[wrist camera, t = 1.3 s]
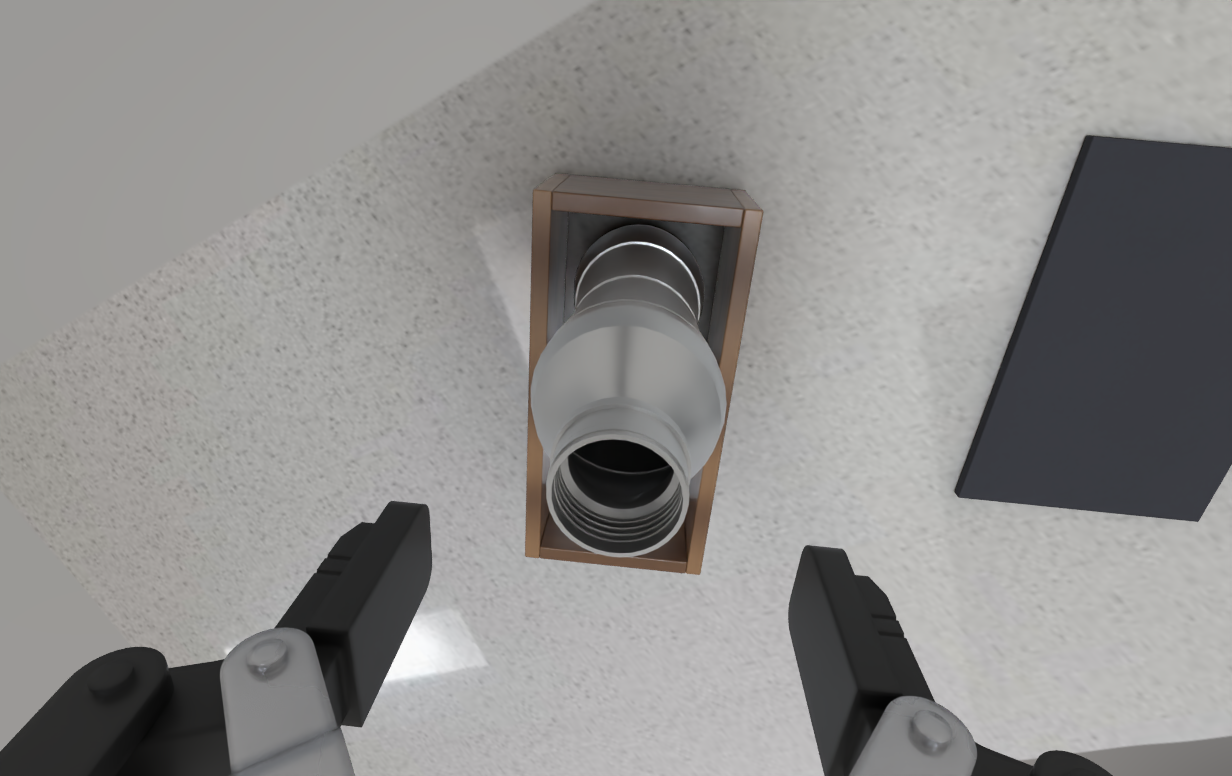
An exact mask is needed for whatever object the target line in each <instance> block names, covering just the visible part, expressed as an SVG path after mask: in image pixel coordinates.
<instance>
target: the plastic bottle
mask: <svg viewBox="0 0 1232 776" xmlns="http://www.w3.org/2000/svg"><path fill="white" fill-rule="evenodd" d="M703 302H704V283H703V277H702V274H701V270H700V267H699V265H698V263H697V261H696V260H695V258H694V256H693V254H692V253H691V252H690V251H689V249H688V248H687V247H686V246H685V245H684V244H683V243H682V242H681V241H679V240H678V239H677V238H676V237H675V236H673V235H672V234H670V233H668V232H666V231H664V230H662V229H660V228H657V227H653V226H650V225H639V224H636V225H628V226H624V227H621V228H618V229H615V230H612V231H610V232H608V233H607V234H605V235H603V236H602V237H600V238H599V239H598V240H597V241H596V242H594V243H593V244H592V245H591V246H590V247H589V249H588V250H587V251H586V253H585V254H584V256H583V257H582V259H581V261H580V264H579V266H578V268H577V272H576V277H575V281H574V305H575V311H574V313H573V315H572V316H571V317H570V318H569V319H568V320H567V321H566V322H565V323H564V324H563V325H562V326H561V327H560V328H559V329H558V330H557V332H556V333H555V334H554V336H553V337H552V338H551V340H550V341H549V343H548V344H547V346H546V347H545V349H544V350H543V352H542V353H541V355H540V358H539V360H538V362H537V365H536V367H535V369H534V373H533V378H532V384H531V408H532V413H533V418H534V423H535V427H536V431H537V435H538V438H539V440H540V442H541V444H542V447H543V449H544V451H545V452H546V454H547V455H548V456H549V458H550V468H549V472H548V476H547V481H546V499H547V503H548V507H549V511H550V513H551V515H552V517H553V519H554V521H555V523H556V524H557V526H558V527H559V528H560V530H561V531H562V532H563V533H564V534H565V535H566V536H567V537H568V538H569V539H570V540H572V541H573V542H575V543H576V544H578V545H579V546H581V547H582V548H585V549H587V550H589V551H591V552H594V553H597V554H601V555H605V556H611V557H634V556H638V555H642V554H646V553H649V552H651V551H653V550H655V549H658V548H659V547H661V546H662V545H664V544H665V543H667V542H668V541H669V540H670V539H671V538H672V537H673V536H674V535H675V534H676V533H677V532H678V530H679V528H680V527H681V525H682V524H683V522H684V519H685V516H686V513H687V509H688V505H689V496H690V493H689V484H690V480H691V478H693V477H694V476H695V475H696V474H697V473H698V472H699V470H700V469H701V468H702V467H703V466H704V465H705V464H706V462H707V460H708V459H709V457H710V456H711V454H712V452H713V451H714V448H715V446H716V444H717V441H718V439H719V436H720V433H721V430H722V428H723V425H724V421H725V414H726V406H727V403H726V391H725V384H724V381H723V378H722V375H721V371H720V368H719V366H718V363H717V360H716V358H715V356H714V354H713V352H712V351H711V349H710V347H709V345H708V343H707V342H706V341H705V339H704V337H703V336H702V334H701V332H700V331H699V328H698V323H699V320H700V317H701V313H702V309H703Z"/></svg>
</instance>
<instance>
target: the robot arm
mask: <svg viewBox="0 0 1232 776" xmlns="http://www.w3.org/2000/svg"><path fill="white" fill-rule="evenodd" d="M431 570H432V550H431V533H430V515H429V508H428V506H427V505H426V504H417V503H407V502H397V501H391V502H389V503H388V504H387V506H386V507H385V509H384V510H383V512H382V513H381V515H380V516H379V518H378V519H377V521H376V522H375V523H365V522H361V523H360V524H359V525H357V526H356V527H354V528H353V529H351V530H350V531H348V532H347V533H346V534H344V535H343V536H341V537H340V539H339V540H338V541H337V543H336V544H335V545H334V547H333V548H332V550H331V551H330V552H329V554H328V557H327V558H325V559H324V561H323V562H322V563H321V565H320V566H319V568H318V569H317V573H314V574H313V576H312V577H311V579H310V580H309V581H308V583H307V584H306V585H305V587H304V588H303V590H302V591H301V592H300V594H299V595H298V596H297V598H296V599H295V601H294V602H293V603H292V605H291V606H290V607H289V609H288V610H287V612H286V613H285V614H284V616H283V617H282V618H281V620H280V621H279V623H278V624H277V625H276V627H275V628H274V629H269V630H266V631H262V632H260V633H257V634H255V635H253V636H251V637H249V638H247V639H245V640H244V641H242V642H241V643H240V644H238V645H237V646H236V647H235V648H234V649H233V650H232V651H231V652H230V653H229V654H228V655H227V657H226V658H225V659H223V660H218V661H213V662H207V663H200V664H194V665H187V666H181V667H174V668H168V665H167V662H166V659H165V657H164V656H163V654H162V653H161V652H159V651H157V650H155V649H152V648H148V647H131V648H125V649H121V650H117V651H114V652H111V653H108V654H106V655H103V656H101V657H99V658H97V659H95V660H93V661H91V662H90V663H88V664H87V665H85V666H84V667H82V668H81V669H80V670H78V671H77V672H76V673H74V674H73V675H72V676H71V677H70V678H69V679H68V680H67V681H66V682H65V683H64V684H63V685H62V686H61V687H60V689H59V690H58V691H57V692H56V693H55V694H54V695H53V696H52V697H51V698H50V699H49V700H48V701H47V702H46V703H45V705H44V706H43V707H42V708H41V709H40V710H39V711H38V712H37V713H36V714H35V715H34V716H33V717H32V718H31V719H30V721H29V722H28V723H27V724H26V725H25V726H24V727H23V728H22V729H21V730H20V731H19V732H18V733H17V734H16V735H15V737H14V738H13V739H12V740H11V741H10V742H9V743H8V744H7V745H6V746H5V747H4V748H3V749H2V750H1V751H0V776H355V774H354V770H353V767H352V763H351V760H350V756H349V753H348V750H347V746H346V743H345V739H344V736H343V733H342V730H341V728H340V727H341V725H346V726H354V727H362V726H363V724H364V721H365V719H366V717H367V715H368V713H369V711H370V709H371V707H372V705H373V702H374V700H375V698H376V696H377V694H378V692H379V690H380V688H381V686H382V683H383V681H384V679H385V677H386V675H387V673H388V671H389V669H390V667H391V664H392V662H393V660H394V658H395V656H396V654H397V652H398V650H399V648H400V645H401V643H402V641H403V639H404V637H405V635H406V633H407V631H408V629H409V626H410V624H411V622H412V620H413V618H414V616H415V614H416V612H417V610H418V607H419V605H420V603H421V601H422V599H423V597H424V595H425V593H426V590H427V588H428V584H429V581H430V576H431ZM788 621H789V630H790V635H791V639H792V643H793V647H794V651H795V656H796V660H797V664H798V668H799V672H800V676H801V680H802V684H803V689H804V693H805V697H806V701H807V705H808V709H809V713H810V718H811V722H812V726H813V730H814V734H815V738H816V742H817V746H818V751H819V755H820V759H821V763H822V767H823V771H824V775H825V776H1112V775H1111V774H1110V773H1109V772H1107V771H1106V770H1104V769H1103V768H1102V767H1100V766H1099V765H1097V764H1095V763H1093V762H1092V761H1090V760H1088V759H1086V758H1084V757H1082V756H1079V755H1076V754H1073V753H1070V752H1066V751H1057V750H1055V751H1048V752H1045V753H1043V754H1042V755H1040V756H1039V758H1038V759H1037V760H1036V763H1035V764H1034V766H1031V765H1028V764H1026V763H1023V762H1021V761H1018V760H1016V759H1013V758H1011V757H1008V756H1005V755H1003V754H1000V753H998V752H995V751H992V750H990V749H988V748H985V747H983V746H981V745H979V744H977V743H976V742H975V741H974V739H973V737H972V735H971V733H970V732H969V730H968V729H967V727H966V726H965V725H964V724H963V723H962V722H961V721H960V720H959V719H958V718H957V717H956V716H955V715H954V714H953V713H952V712H950V711H949V710H947V709H946V708H944V707H943V706H941V705H939V704H937V703H936V702H935V701H934V699H933V696H932V694H931V692H930V690H929V688H928V685H927V683H926V681H925V679H924V677H923V674H922V672H921V670H920V668H919V665H918V663H917V661H916V659H915V657H914V654H913V652H912V650H911V648H910V646H909V643H908V641H907V639H906V638H904V632H903V630H902V628H901V626H900V624H899V621H896V615H895V613H894V610H893V608H892V606H891V604H890V602H889V599H888V597H887V595H886V594H885V593H884V592H883V591H882V590H881V589H880V588H879V587H878V586H877V585H876V584H875V583H874V582H873V581H872V580H871V579H870V578H869V577H868V576H858V575H855V574H854V572H853V569H852V567H851V564H850V562H849V560H848V557H847V555H846V553H845V551H844V550H843V549H838V548H829V547H819V546H810V545H807V546H805V547H804V549H803V551H802V555H801V559H800V563H799V567H798V570H797V574H796V578H795V582H794V586H793V590H792V594H791V598H790V602H789V612H788Z"/></svg>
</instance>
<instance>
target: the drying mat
mask: <svg viewBox="0 0 1232 776" xmlns="http://www.w3.org/2000/svg"><path fill="white" fill-rule="evenodd" d="M1231 465H1232V148H1225V147H1213V146H1202V145H1190V144H1179V143H1167V142H1156V141H1144V140H1133V139H1121V138H1110V137H1098V136H1086V138H1085V141H1084V144H1083V146H1082V149H1081V152H1080V154H1079V157H1078V160H1077V163H1076V165H1075V168H1074V171H1073V173H1072V176H1071V179H1070V181H1069V184H1068V187H1067V190H1066V192H1065V195H1064V198H1063V200H1062V203H1061V206H1060V208H1059V211H1058V214H1057V217H1056V219H1055V222H1054V225H1053V227H1052V230H1051V233H1050V236H1049V238H1048V241H1047V244H1046V246H1045V249H1044V252H1043V254H1042V257H1041V260H1040V263H1039V265H1038V268H1037V271H1036V273H1035V276H1034V279H1033V281H1032V284H1031V287H1030V290H1029V292H1028V295H1027V298H1026V300H1025V303H1024V306H1023V308H1022V311H1021V314H1020V317H1019V319H1018V322H1017V325H1016V327H1015V330H1014V333H1013V335H1012V338H1011V341H1010V344H1009V346H1008V349H1007V352H1006V354H1005V357H1004V360H1003V363H1002V365H1001V368H1000V371H999V373H998V376H997V379H996V381H995V384H994V387H993V390H992V392H991V395H990V398H989V400H988V403H987V406H986V408H985V411H984V414H983V417H982V419H981V422H980V425H979V427H978V430H977V433H976V435H975V438H974V441H973V444H972V446H971V449H970V452H969V454H968V457H967V460H966V462H965V465H964V468H963V471H962V473H961V476H960V479H959V481H958V484H957V487H956V489H955V493H956V495H957V496H958V497H959V498H969V499H979V500H989V501H998V502H1008V503H1018V504H1028V505H1038V506H1048V507H1058V508H1067V509H1077V510H1087V511H1097V512H1107V513H1117V514H1127V515H1136V516H1146V517H1156V518H1166V519H1176V520H1186V521H1196V522H1198V521H1199V520H1200V518H1201V516H1202V515H1203V513H1204V511H1205V509H1206V508H1207V506H1208V504H1209V503H1210V501H1211V499H1212V497H1213V496H1214V494H1215V492H1216V490H1217V489H1218V487H1219V485H1220V484H1221V482H1222V480H1223V478H1224V477H1225V475H1226V473H1227V472H1228V470H1229V468H1230V466H1231Z"/></svg>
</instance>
